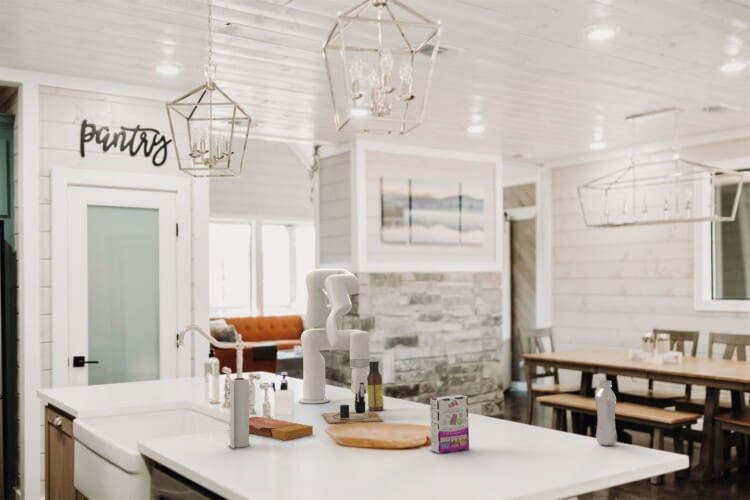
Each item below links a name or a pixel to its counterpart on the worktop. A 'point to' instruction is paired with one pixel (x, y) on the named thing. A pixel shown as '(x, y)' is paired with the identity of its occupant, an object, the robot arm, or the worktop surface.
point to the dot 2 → (344, 411)
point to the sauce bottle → (374, 387)
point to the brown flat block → (278, 428)
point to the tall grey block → (239, 412)
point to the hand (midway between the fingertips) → (360, 411)
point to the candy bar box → (449, 423)
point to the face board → (352, 417)
